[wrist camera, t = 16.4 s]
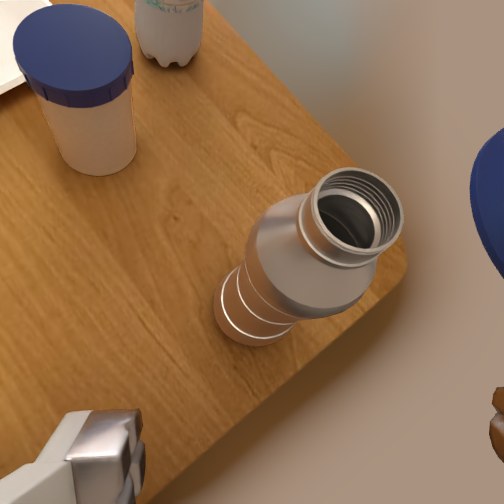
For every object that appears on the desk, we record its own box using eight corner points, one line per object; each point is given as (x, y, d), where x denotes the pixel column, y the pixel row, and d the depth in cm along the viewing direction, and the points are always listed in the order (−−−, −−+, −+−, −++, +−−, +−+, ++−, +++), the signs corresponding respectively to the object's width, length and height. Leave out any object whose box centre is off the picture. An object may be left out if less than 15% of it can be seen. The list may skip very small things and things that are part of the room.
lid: (105, 14, 29) (101, -7, 27) (151, 89, 28) (151, 71, 26) (2, 40, 26) (-8, 17, 25) (48, 123, 25) (41, 105, 24)
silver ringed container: (208, 272, 34) (266, 127, 15) (285, 274, 35) (422, 142, 17) (209, 351, 32) (277, 291, 13) (291, 349, 33) (455, 292, 15)
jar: (116, 103, 37) (101, 3, 28) (150, 159, 36) (146, 75, 26) (45, 127, 35) (1, 26, 25) (78, 187, 34) (46, 106, 24)
